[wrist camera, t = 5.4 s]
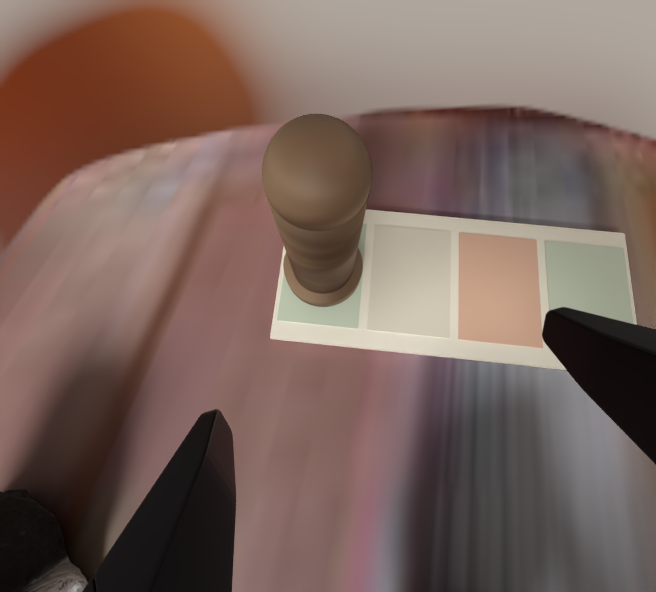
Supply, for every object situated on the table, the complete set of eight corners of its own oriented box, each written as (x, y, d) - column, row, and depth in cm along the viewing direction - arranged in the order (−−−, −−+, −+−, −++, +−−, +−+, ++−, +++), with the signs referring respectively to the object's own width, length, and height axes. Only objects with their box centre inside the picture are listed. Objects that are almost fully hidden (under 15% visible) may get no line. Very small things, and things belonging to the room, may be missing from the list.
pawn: (303, 319, 21) (266, 240, 9) (274, 252, 22) (207, 102, 10) (374, 288, 22) (429, 173, 9) (341, 224, 23) (354, 49, 11)
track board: (271, 338, 22) (269, 337, 21) (291, 206, 24) (290, 201, 23) (635, 377, 21) (645, 377, 20) (617, 236, 23) (625, 232, 23)
